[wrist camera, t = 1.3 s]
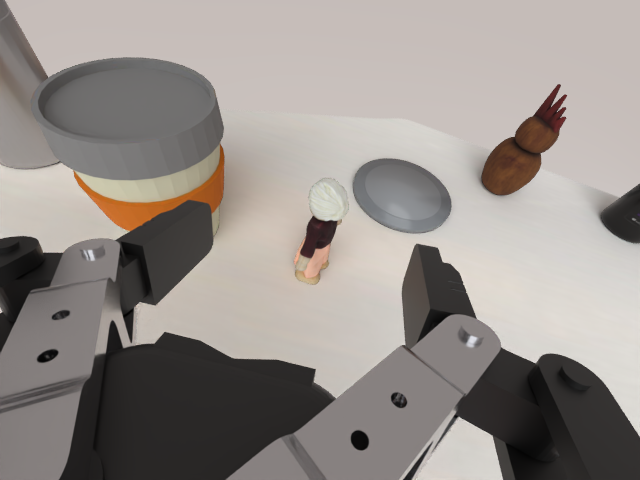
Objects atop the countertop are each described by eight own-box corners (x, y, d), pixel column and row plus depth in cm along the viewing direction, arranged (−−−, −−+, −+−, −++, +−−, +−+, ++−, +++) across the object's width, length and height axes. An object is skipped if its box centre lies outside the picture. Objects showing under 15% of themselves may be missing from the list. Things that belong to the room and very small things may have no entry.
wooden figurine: (471, 169, 49) (537, 74, 37) (504, 175, 49) (580, 83, 37) (481, 198, 45) (559, 102, 33) (517, 204, 45) (608, 112, 33)
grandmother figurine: (305, 239, 35) (321, 150, 25) (336, 250, 35) (364, 164, 25) (280, 294, 30) (287, 210, 20) (315, 307, 30) (340, 229, 20)
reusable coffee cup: (191, 290, 29) (142, 172, 18) (85, 242, 31) (-27, 103, 19) (254, 208, 37) (249, 87, 25) (167, 172, 38) (123, 42, 26)
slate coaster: (341, 212, 39) (343, 207, 38) (364, 152, 47) (366, 147, 46) (446, 247, 38) (450, 243, 37) (450, 180, 46) (453, 175, 45)
